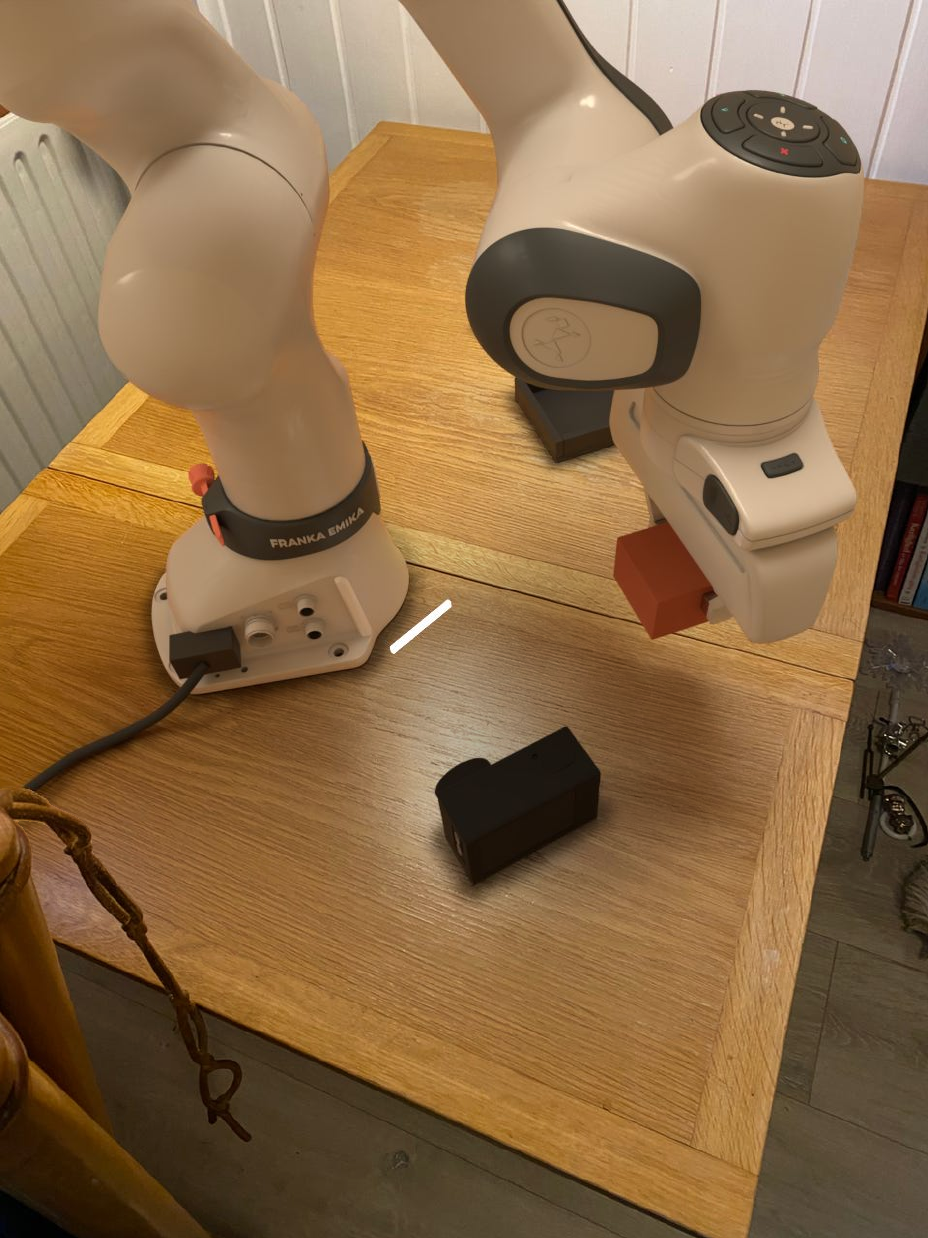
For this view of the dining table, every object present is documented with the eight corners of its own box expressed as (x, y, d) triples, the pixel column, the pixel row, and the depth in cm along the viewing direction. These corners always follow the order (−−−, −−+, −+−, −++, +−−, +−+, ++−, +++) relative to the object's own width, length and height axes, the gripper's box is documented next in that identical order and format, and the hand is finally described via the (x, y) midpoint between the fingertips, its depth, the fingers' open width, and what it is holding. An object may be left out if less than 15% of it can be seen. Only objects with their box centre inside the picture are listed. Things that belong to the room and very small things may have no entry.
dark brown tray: (555, 463, 92) (556, 442, 90) (514, 397, 98) (514, 377, 96) (751, 402, 95) (755, 380, 93) (699, 342, 101) (702, 321, 99)
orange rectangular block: (651, 640, 63) (657, 602, 60) (612, 575, 66) (616, 537, 63) (759, 605, 64) (771, 566, 61) (715, 543, 68) (725, 503, 65)
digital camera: (558, 760, 72) (559, 710, 67) (598, 817, 69) (602, 770, 64) (436, 824, 70) (427, 778, 64) (472, 886, 67) (465, 844, 61)
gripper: (592, 323, 59) (582, 486, 70) (766, 556, 47) (721, 707, 57) (685, 299, 60) (660, 462, 71) (879, 519, 48) (813, 675, 59)
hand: (689, 574), depth 64 cm, fingers closed on orange rectangular block, 6 cm apart
